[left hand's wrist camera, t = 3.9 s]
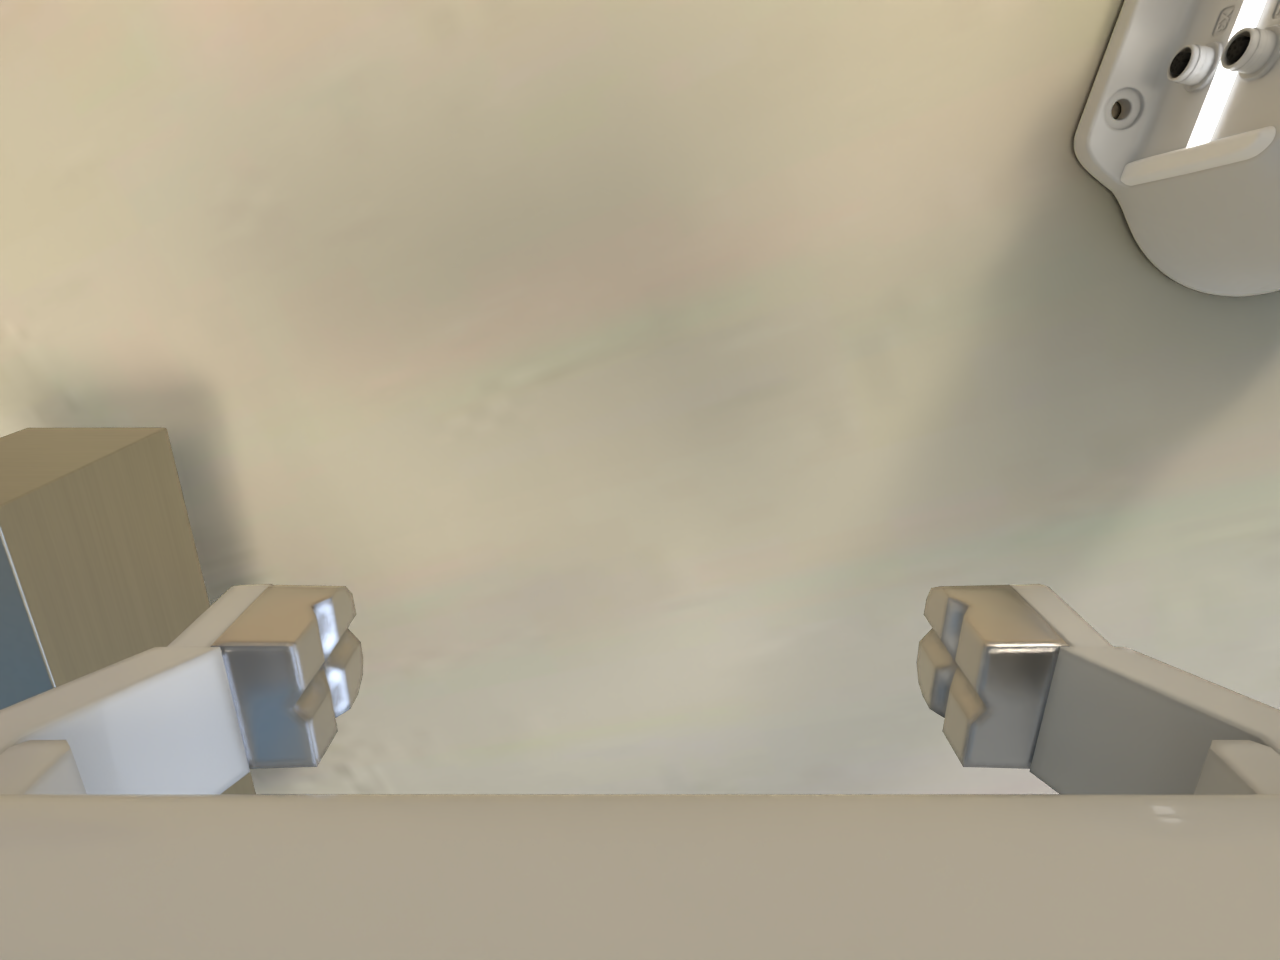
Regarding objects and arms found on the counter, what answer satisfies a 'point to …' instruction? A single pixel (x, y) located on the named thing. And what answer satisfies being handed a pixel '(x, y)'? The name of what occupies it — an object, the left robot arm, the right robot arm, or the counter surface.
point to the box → (91, 556)
